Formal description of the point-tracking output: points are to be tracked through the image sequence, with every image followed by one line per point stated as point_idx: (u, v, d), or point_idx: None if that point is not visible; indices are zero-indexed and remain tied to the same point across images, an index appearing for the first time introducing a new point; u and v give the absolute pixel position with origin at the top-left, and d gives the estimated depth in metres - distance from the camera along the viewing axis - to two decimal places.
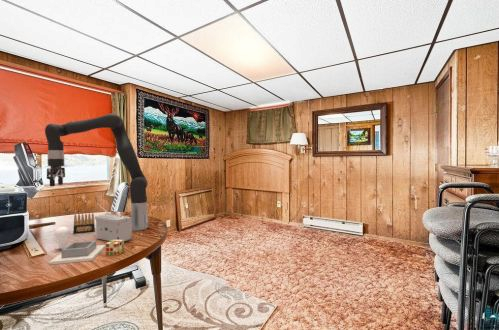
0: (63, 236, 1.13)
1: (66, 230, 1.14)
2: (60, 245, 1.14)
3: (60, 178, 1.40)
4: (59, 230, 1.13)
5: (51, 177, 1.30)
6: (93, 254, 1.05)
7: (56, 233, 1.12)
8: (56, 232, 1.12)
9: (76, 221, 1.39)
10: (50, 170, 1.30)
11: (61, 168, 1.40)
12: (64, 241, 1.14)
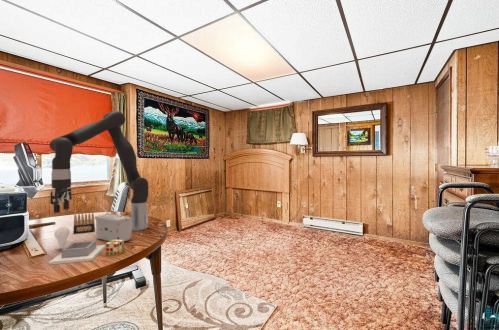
0: (63, 236, 1.13)
1: (66, 230, 1.14)
2: (60, 245, 1.14)
3: (66, 201, 1.18)
4: (59, 230, 1.13)
5: (56, 202, 1.08)
6: (93, 254, 1.05)
7: (56, 233, 1.12)
8: (56, 232, 1.12)
9: (76, 221, 1.39)
10: (54, 194, 1.08)
11: (67, 189, 1.18)
12: (64, 241, 1.14)
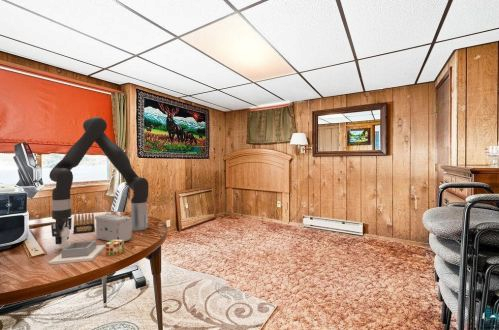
0: (63, 236, 1.13)
1: (66, 230, 1.14)
2: (60, 245, 1.14)
3: None
4: None
5: (57, 235, 1.09)
6: (93, 254, 1.05)
7: None
8: None
9: (76, 221, 1.39)
10: (55, 227, 1.08)
11: (68, 219, 1.18)
12: (64, 241, 1.14)
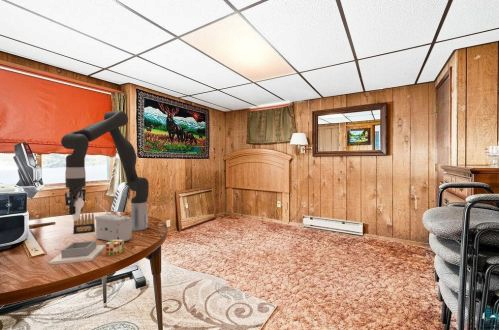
0: (77, 207, 1.06)
1: (80, 200, 1.07)
2: (74, 216, 1.06)
3: None
4: None
5: (71, 204, 1.02)
6: (93, 254, 1.05)
7: None
8: None
9: (76, 221, 1.39)
10: (69, 195, 1.01)
11: (82, 189, 1.11)
12: (78, 212, 1.07)
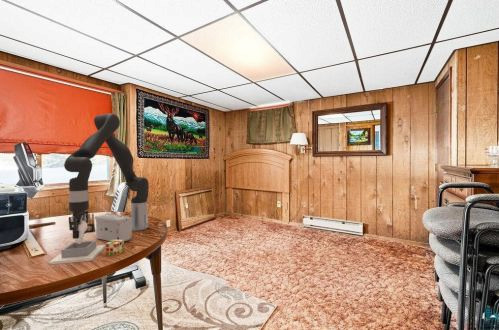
0: (81, 230, 1.05)
1: (83, 223, 1.06)
2: (77, 240, 1.06)
3: None
4: None
5: (75, 228, 1.01)
6: (93, 254, 1.05)
7: None
8: None
9: None
10: (73, 220, 1.01)
11: (85, 211, 1.10)
12: (81, 235, 1.07)
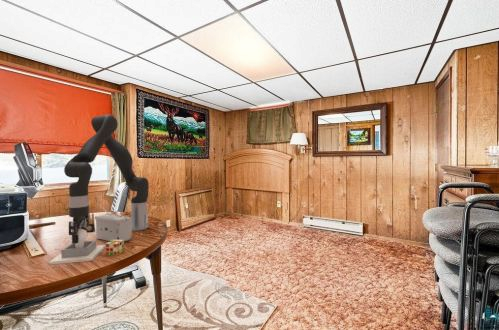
0: (81, 240, 1.05)
1: (84, 233, 1.06)
2: None
3: None
4: None
5: (74, 233, 1.00)
6: (93, 254, 1.05)
7: None
8: None
9: None
10: (73, 224, 1.00)
11: (85, 216, 1.10)
12: (82, 244, 1.06)
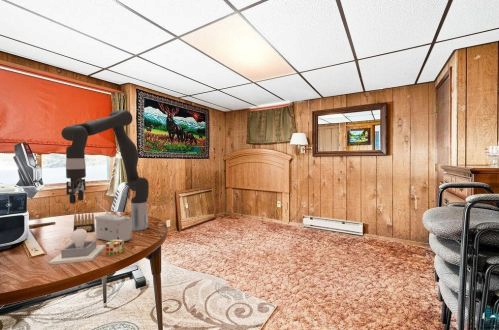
0: (81, 239, 1.05)
1: (83, 232, 1.06)
2: None
3: (80, 192, 1.14)
4: (76, 233, 1.05)
5: (72, 192, 1.04)
6: (93, 254, 1.05)
7: (73, 236, 1.04)
8: (73, 235, 1.04)
9: (76, 221, 1.39)
10: (70, 184, 1.04)
11: (81, 180, 1.14)
12: (81, 244, 1.07)
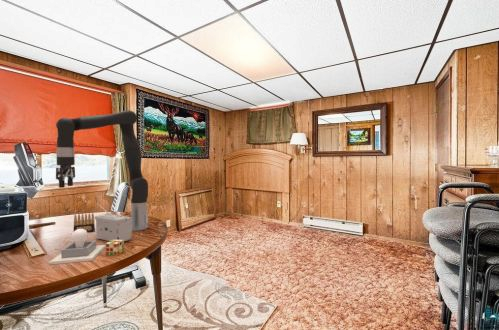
0: (81, 239, 1.06)
1: (84, 232, 1.07)
2: None
3: (70, 178, 1.26)
4: (77, 232, 1.05)
5: (61, 177, 1.16)
6: (93, 254, 1.05)
7: (73, 236, 1.04)
8: (74, 235, 1.04)
9: (76, 221, 1.39)
10: (60, 169, 1.16)
11: (71, 167, 1.26)
12: (82, 244, 1.07)
